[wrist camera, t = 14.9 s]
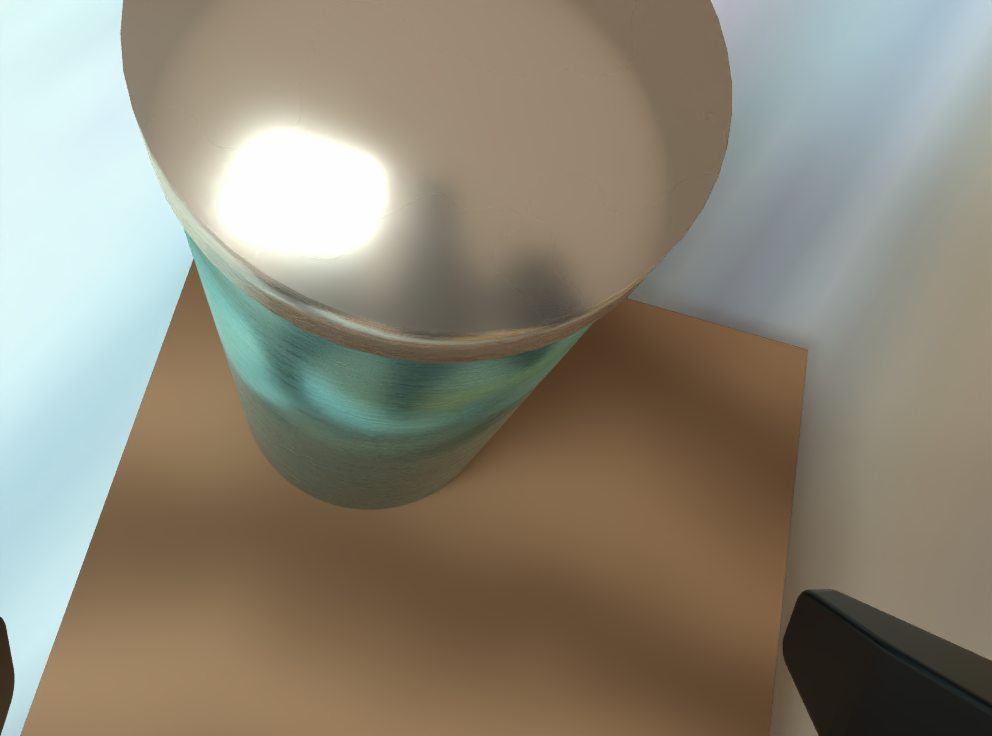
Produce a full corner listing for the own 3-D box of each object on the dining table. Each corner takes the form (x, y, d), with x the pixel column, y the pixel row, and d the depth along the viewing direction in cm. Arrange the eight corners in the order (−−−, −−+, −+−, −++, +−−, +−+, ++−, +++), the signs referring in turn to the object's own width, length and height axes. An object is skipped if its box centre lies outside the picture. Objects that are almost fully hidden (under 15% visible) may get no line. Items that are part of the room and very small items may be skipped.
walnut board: (688, 1106, 20) (727, 1156, 18) (-43, 983, 18) (-85, 1023, 16) (771, 370, 26) (807, 349, 24) (228, 218, 24) (220, 183, 22)
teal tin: (542, 441, 21) (838, 186, 9) (310, 562, 20) (298, 445, 7) (425, 230, 22) (552, -248, 10) (194, 326, 21) (15, -119, 8)
